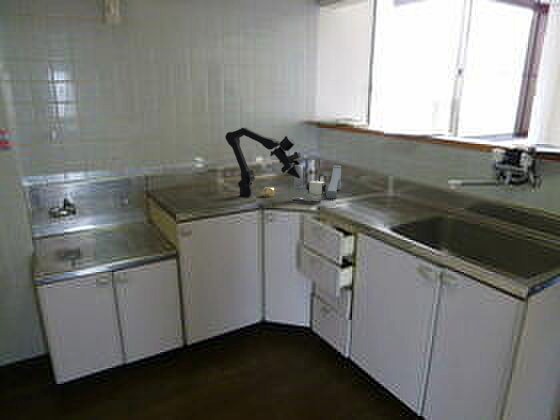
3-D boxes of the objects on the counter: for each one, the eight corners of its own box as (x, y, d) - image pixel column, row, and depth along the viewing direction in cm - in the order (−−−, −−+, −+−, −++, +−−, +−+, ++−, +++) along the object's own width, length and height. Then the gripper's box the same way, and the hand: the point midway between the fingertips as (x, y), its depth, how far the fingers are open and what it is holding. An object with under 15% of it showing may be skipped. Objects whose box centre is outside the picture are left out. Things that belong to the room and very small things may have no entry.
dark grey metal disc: (292, 200, 220) (292, 198, 219) (294, 198, 226) (294, 196, 226) (303, 201, 218) (303, 199, 218) (305, 198, 224) (305, 197, 224)
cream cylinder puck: (262, 196, 230) (262, 188, 228) (265, 194, 236) (265, 186, 235) (272, 197, 228) (272, 189, 227) (275, 195, 234) (275, 187, 233)
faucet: (337, 213, 233) (342, 184, 255) (336, 191, 222) (342, 162, 244) (326, 212, 234) (333, 183, 256) (325, 190, 224) (333, 162, 246)
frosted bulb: (294, 189, 216) (294, 166, 213) (293, 187, 222) (293, 165, 218) (303, 189, 217) (304, 166, 213) (302, 187, 222) (303, 165, 219)
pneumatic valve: (324, 202, 215) (325, 181, 212) (305, 200, 220) (306, 179, 217) (328, 200, 219) (329, 180, 216) (309, 198, 225) (310, 178, 222)
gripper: (286, 148, 206) (306, 170, 205) (297, 145, 223) (315, 165, 222) (273, 162, 211) (291, 183, 210) (284, 158, 228) (302, 178, 227)
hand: (300, 177), depth 217 cm, fingers closed on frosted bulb, 5 cm apart
